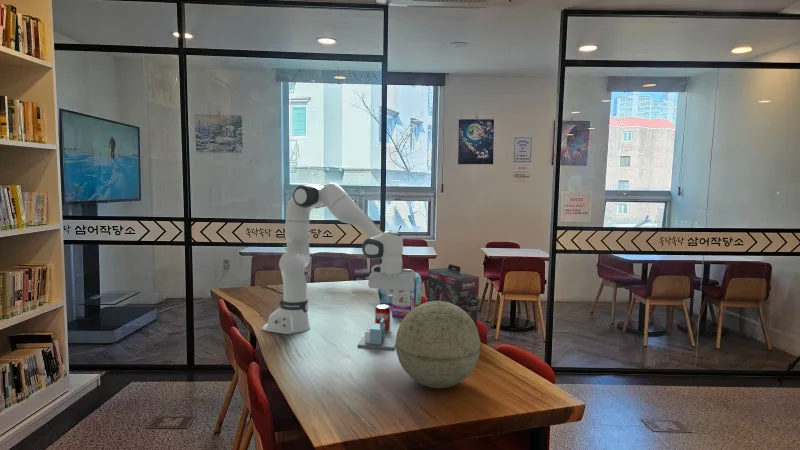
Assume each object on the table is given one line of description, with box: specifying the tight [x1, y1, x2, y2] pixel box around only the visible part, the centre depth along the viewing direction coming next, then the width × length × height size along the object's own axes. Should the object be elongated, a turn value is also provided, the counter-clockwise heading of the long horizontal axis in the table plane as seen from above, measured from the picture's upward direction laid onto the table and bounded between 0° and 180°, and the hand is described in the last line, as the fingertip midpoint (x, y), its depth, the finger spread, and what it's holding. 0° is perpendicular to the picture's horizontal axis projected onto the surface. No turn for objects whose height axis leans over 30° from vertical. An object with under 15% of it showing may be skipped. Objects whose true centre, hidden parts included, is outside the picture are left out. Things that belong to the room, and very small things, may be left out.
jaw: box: [364, 327, 371, 343], centre depth 204 cm, size 5×5×5 cm
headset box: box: [427, 263, 480, 328], centre depth 219 cm, size 25×12×33 cm, turn 32°
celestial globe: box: [395, 301, 481, 389], centre depth 163 cm, size 30×30×30 cm
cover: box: [370, 318, 386, 345], centre depth 203 cm, size 5×8×10 cm, turn 171°
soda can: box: [374, 304, 391, 333], centre depth 222 cm, size 7×7×12 cm
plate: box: [357, 335, 396, 351], centre depth 204 cm, size 16×11×5 cm
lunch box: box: [377, 272, 423, 307], centre depth 269 cm, size 26×11×21 cm, turn 58°
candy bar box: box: [391, 290, 415, 319], centre depth 246 cm, size 11×5×16 cm, turn 68°
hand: (390, 299), depth 201 cm, fingers closed
